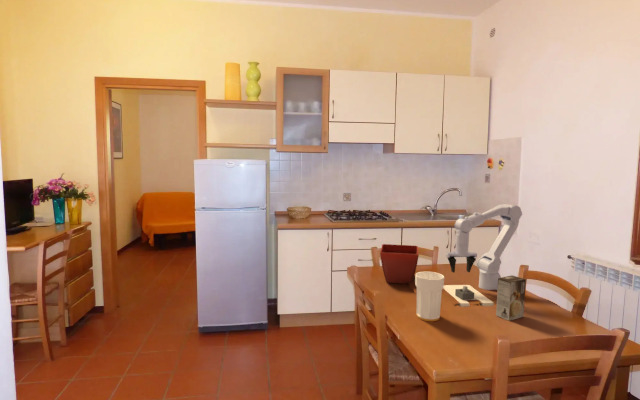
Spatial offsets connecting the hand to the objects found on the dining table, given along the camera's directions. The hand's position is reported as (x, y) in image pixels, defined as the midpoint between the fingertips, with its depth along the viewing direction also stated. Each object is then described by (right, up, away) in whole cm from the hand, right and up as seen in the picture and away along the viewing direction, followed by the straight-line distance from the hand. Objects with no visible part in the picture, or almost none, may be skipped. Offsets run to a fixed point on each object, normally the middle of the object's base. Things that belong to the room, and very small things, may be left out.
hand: (460, 271), depth 188 cm
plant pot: (-26, -8, +19) cm, 33 cm away
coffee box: (+10, -14, -27) cm, 32 cm away
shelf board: (0, -11, -5) cm, 12 cm away
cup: (-24, -13, -28) cm, 39 cm away
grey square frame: (-2, -10, -10) cm, 14 cm away
